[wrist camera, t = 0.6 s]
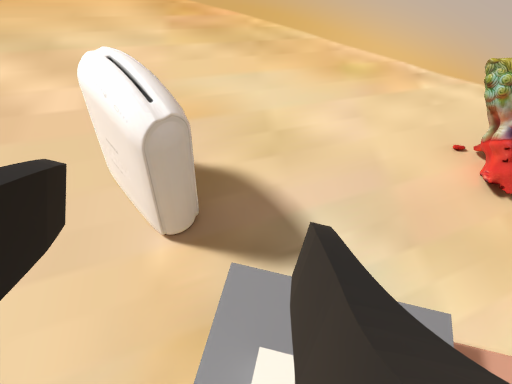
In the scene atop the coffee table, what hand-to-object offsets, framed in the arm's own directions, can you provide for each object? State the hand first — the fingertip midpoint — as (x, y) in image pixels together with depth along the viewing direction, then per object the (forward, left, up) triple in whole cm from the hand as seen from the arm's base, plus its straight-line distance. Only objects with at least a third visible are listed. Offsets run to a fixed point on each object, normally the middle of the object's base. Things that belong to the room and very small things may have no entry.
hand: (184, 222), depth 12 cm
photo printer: (+13, +9, -18) cm, 24 cm away
